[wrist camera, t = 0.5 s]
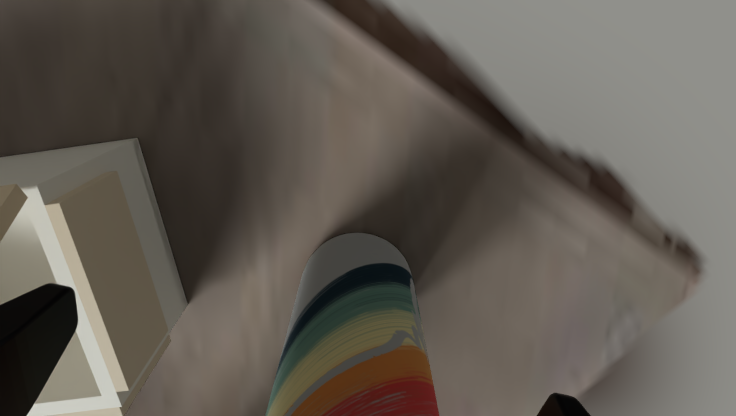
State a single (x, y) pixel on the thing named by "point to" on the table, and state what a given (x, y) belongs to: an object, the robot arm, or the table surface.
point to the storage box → (94, 269)
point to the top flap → (10, 206)
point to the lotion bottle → (354, 337)
